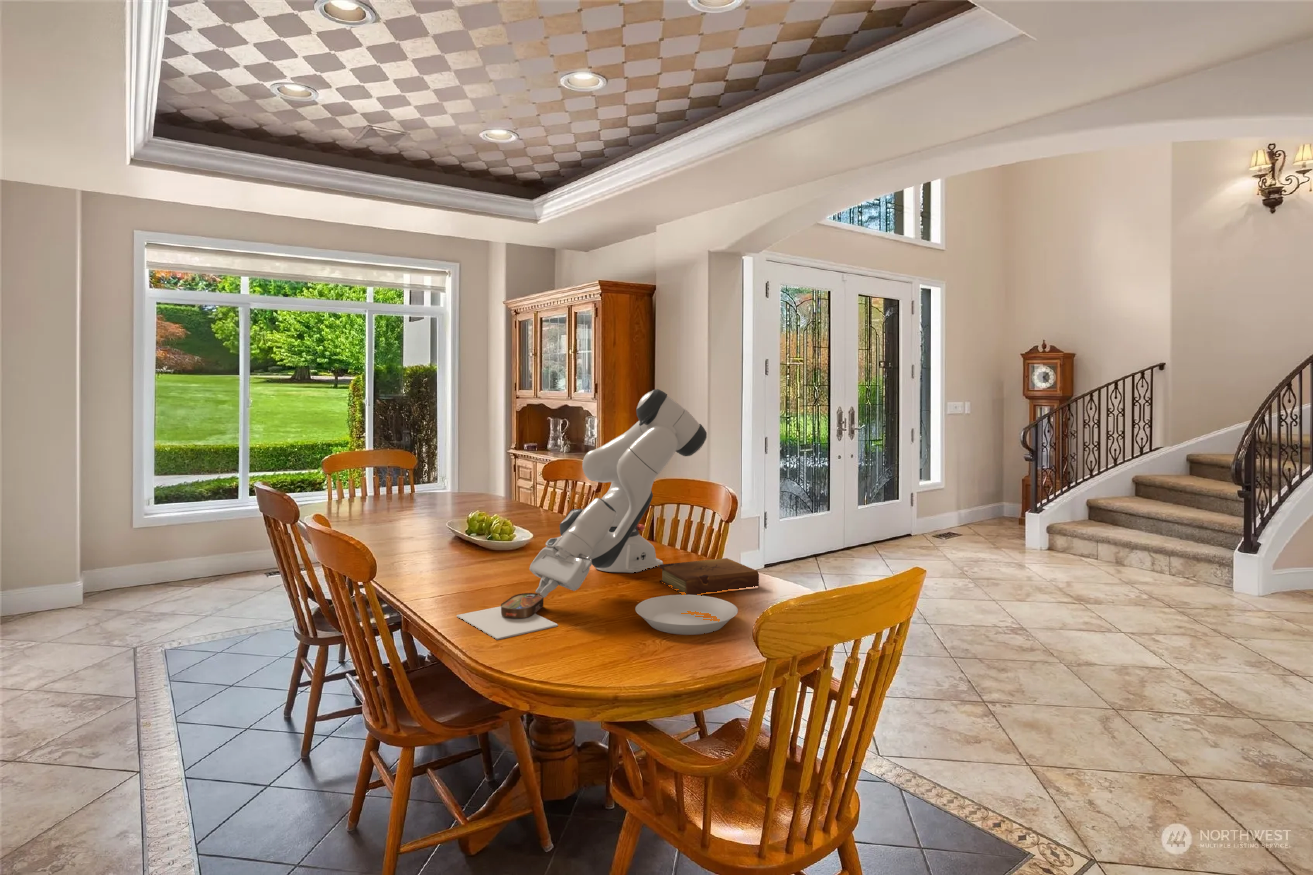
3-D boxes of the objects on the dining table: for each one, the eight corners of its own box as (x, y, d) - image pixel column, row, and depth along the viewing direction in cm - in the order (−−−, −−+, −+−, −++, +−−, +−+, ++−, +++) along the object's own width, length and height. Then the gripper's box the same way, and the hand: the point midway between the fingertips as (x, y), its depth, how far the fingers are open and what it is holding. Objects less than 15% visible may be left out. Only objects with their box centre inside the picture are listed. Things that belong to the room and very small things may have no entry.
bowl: (620, 614, 182) (620, 600, 182) (708, 603, 192) (708, 590, 192) (659, 646, 159) (659, 630, 159) (757, 632, 169) (757, 617, 169)
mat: (514, 605, 189) (514, 603, 189) (558, 625, 172) (558, 624, 172) (456, 616, 179) (456, 615, 179) (496, 639, 162) (496, 638, 162)
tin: (527, 609, 175) (494, 605, 176) (526, 622, 175) (494, 617, 177) (548, 593, 189) (518, 589, 191) (548, 605, 190) (518, 601, 191)
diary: (686, 600, 197) (686, 579, 197) (659, 583, 214) (659, 564, 214) (758, 590, 206) (758, 570, 206) (726, 575, 223) (726, 557, 223)
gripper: (602, 566, 180) (569, 611, 175) (559, 552, 196) (527, 593, 191) (587, 550, 177) (553, 596, 172) (545, 538, 193) (512, 579, 188)
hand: (539, 595), depth 181 cm, fingers closed
